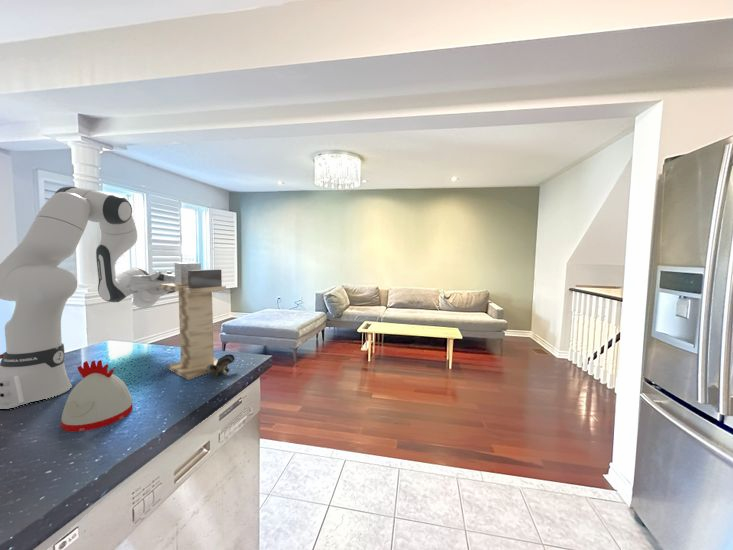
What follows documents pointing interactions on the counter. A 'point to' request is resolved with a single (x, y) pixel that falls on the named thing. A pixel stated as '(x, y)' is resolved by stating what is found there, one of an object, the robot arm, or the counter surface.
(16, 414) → the counter surface
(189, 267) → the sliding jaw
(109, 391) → the kitchen timer
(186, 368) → the shelf
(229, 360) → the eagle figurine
